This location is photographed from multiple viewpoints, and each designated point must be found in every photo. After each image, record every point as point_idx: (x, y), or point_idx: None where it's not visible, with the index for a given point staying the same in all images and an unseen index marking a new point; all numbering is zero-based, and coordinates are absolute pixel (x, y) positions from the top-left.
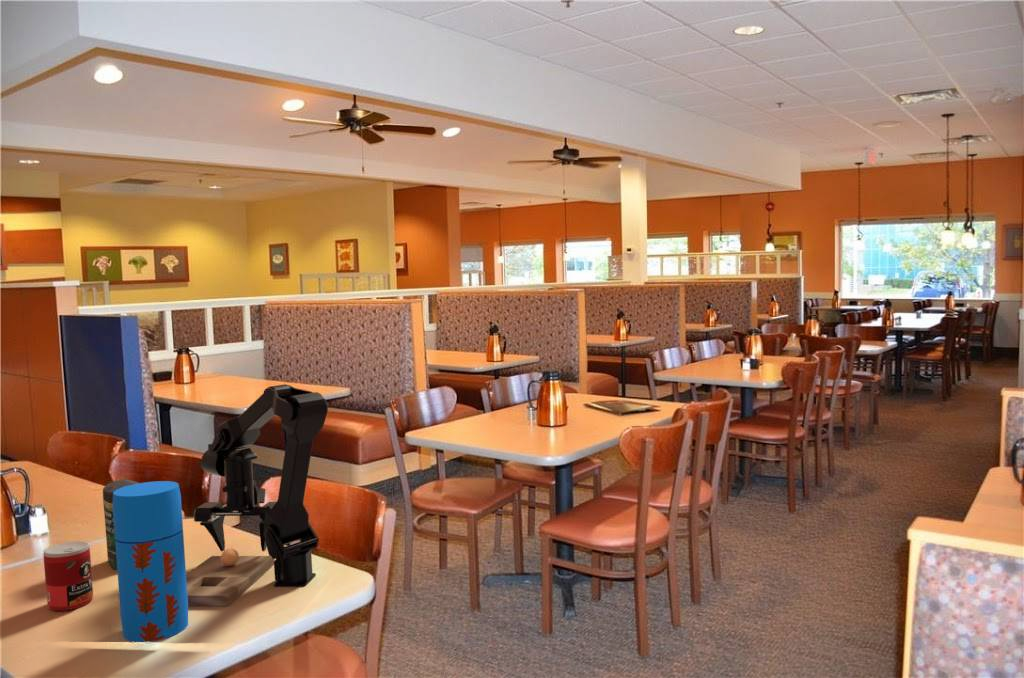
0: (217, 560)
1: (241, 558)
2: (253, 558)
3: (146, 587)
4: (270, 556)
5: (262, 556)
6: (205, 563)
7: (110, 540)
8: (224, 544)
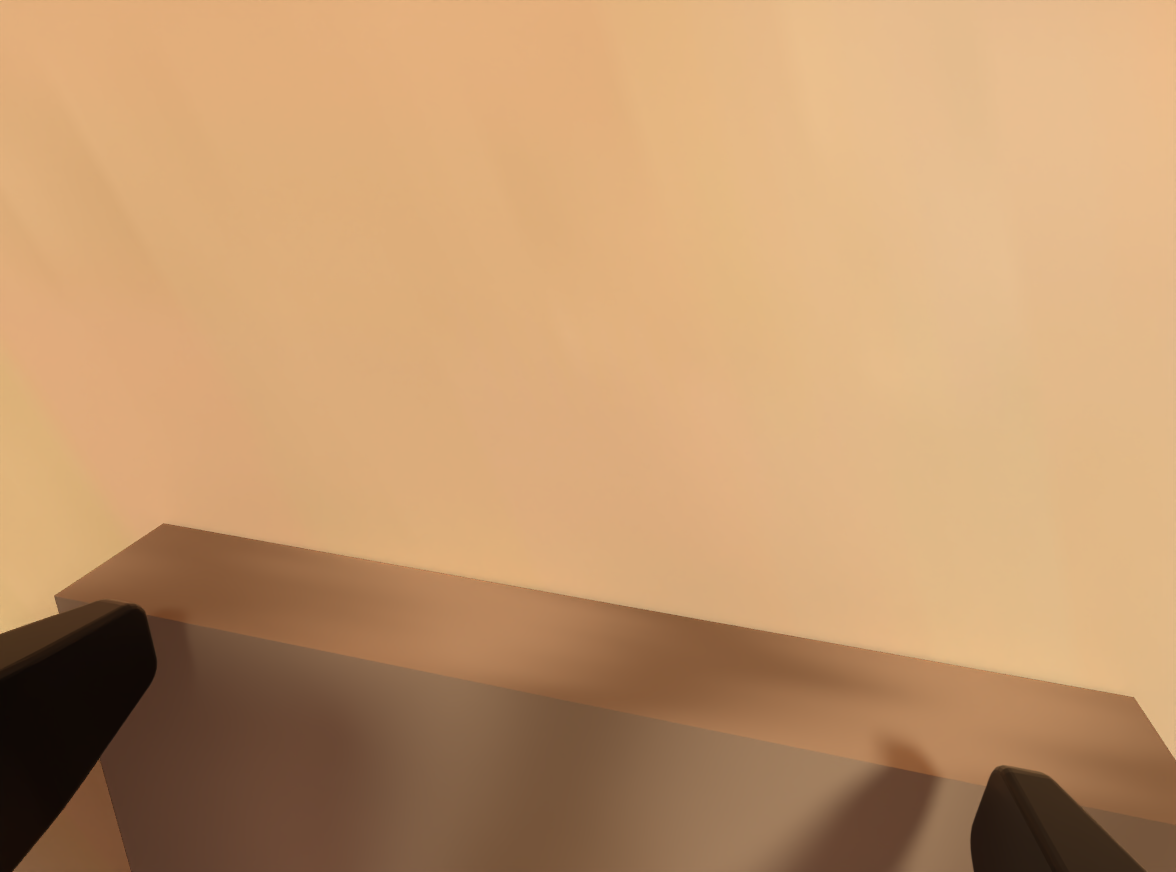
0: (260, 796)
1: (586, 808)
2: (803, 858)
3: None
4: (1136, 847)
5: (957, 809)
6: (175, 854)
7: None
8: (50, 669)
